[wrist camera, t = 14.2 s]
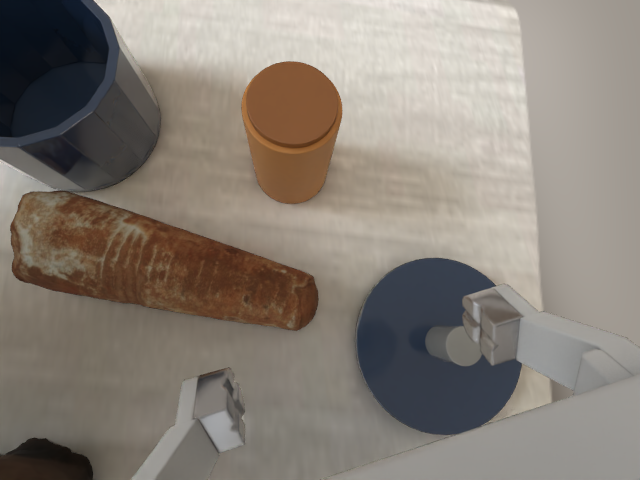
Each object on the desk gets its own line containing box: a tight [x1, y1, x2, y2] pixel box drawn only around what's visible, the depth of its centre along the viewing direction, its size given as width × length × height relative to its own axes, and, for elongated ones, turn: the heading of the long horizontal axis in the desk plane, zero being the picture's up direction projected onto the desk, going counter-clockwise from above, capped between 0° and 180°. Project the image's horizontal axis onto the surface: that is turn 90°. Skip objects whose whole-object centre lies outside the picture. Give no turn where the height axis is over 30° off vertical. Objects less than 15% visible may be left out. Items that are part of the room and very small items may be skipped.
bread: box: [10, 190, 318, 331], centre depth 24 cm, size 6×19×6 cm, turn 74°
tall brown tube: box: [242, 62, 342, 204], centre depth 24 cm, size 6×6×10 cm
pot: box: [0, 0, 161, 192], centre depth 25 cm, size 11×11×8 cm
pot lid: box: [355, 258, 522, 435], centre depth 25 cm, size 12×12×5 cm
